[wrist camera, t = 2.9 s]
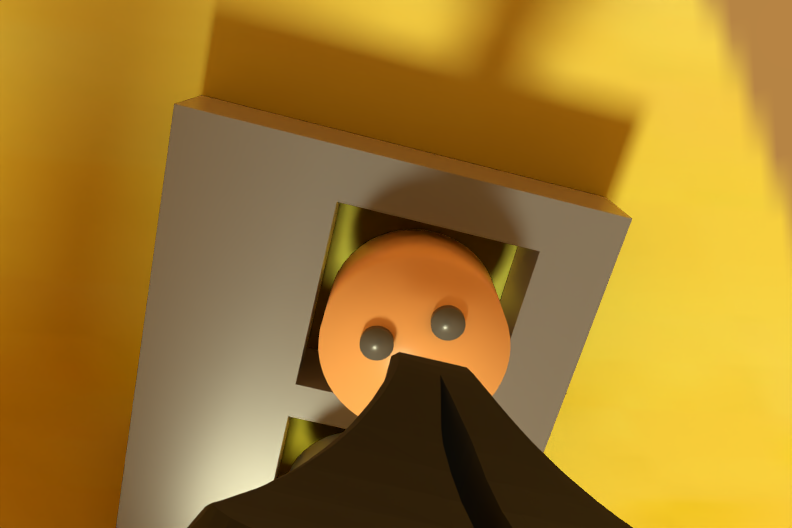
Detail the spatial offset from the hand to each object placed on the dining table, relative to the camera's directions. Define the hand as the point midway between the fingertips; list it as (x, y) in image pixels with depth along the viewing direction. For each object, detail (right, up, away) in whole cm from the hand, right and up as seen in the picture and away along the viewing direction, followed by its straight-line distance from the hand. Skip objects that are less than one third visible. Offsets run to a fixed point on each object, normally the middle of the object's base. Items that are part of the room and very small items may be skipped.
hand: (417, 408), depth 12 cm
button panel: (-2, -3, +7) cm, 8 cm away
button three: (0, +1, +4) cm, 5 cm away
